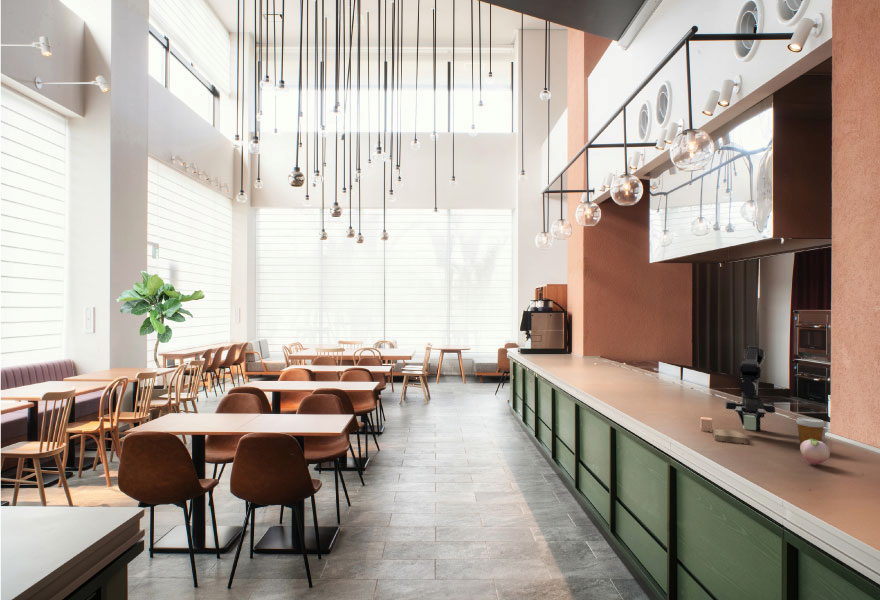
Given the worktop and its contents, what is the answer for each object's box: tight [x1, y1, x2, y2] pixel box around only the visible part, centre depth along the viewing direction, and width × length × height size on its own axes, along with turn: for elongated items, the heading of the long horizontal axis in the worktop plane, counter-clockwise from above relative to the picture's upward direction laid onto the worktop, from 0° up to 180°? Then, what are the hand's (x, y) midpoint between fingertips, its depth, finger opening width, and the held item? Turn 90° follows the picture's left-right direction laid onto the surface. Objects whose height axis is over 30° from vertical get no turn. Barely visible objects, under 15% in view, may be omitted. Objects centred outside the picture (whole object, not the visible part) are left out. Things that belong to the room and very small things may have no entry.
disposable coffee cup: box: [795, 416, 826, 447], centre depth 203 cm, size 10×10×12 cm
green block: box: [742, 415, 756, 431], centre depth 225 cm, size 4×4×6 cm
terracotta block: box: [699, 416, 713, 433], centre depth 233 cm, size 4×4×6 cm
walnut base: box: [712, 428, 749, 445], centre depth 217 cm, size 12×12×2 cm
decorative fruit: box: [799, 437, 831, 466], centre depth 182 cm, size 9×8×10 cm
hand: (749, 426), depth 225 cm, fingers closed on green block, 4 cm apart
